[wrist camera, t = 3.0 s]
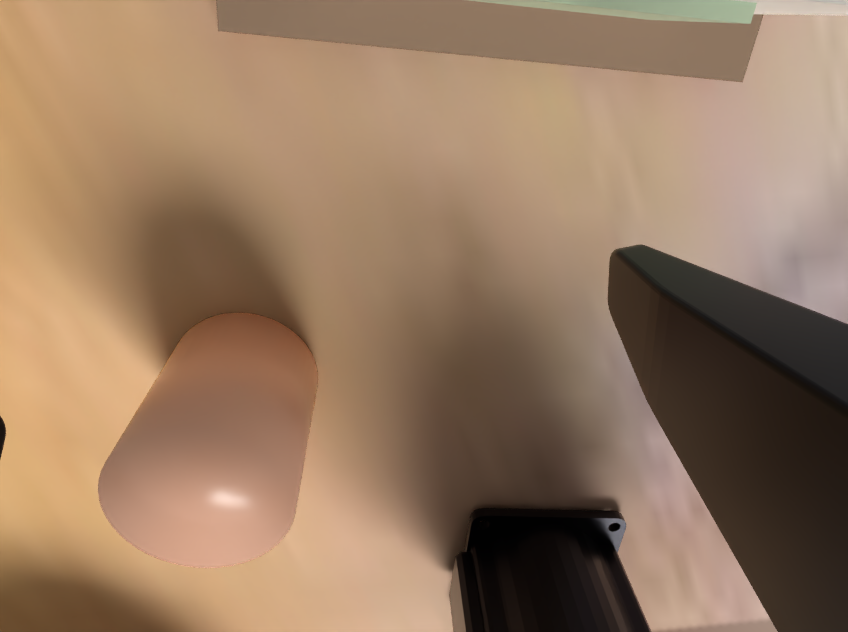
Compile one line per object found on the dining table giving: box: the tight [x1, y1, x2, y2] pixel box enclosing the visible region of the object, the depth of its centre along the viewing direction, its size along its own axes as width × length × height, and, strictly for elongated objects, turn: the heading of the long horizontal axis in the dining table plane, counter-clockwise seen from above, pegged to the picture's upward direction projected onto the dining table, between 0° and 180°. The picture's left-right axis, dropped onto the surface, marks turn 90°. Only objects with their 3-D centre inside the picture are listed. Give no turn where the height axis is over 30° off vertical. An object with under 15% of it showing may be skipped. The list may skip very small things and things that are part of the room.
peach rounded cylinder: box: [98, 313, 318, 568], centre depth 18 cm, size 5×5×6 cm
